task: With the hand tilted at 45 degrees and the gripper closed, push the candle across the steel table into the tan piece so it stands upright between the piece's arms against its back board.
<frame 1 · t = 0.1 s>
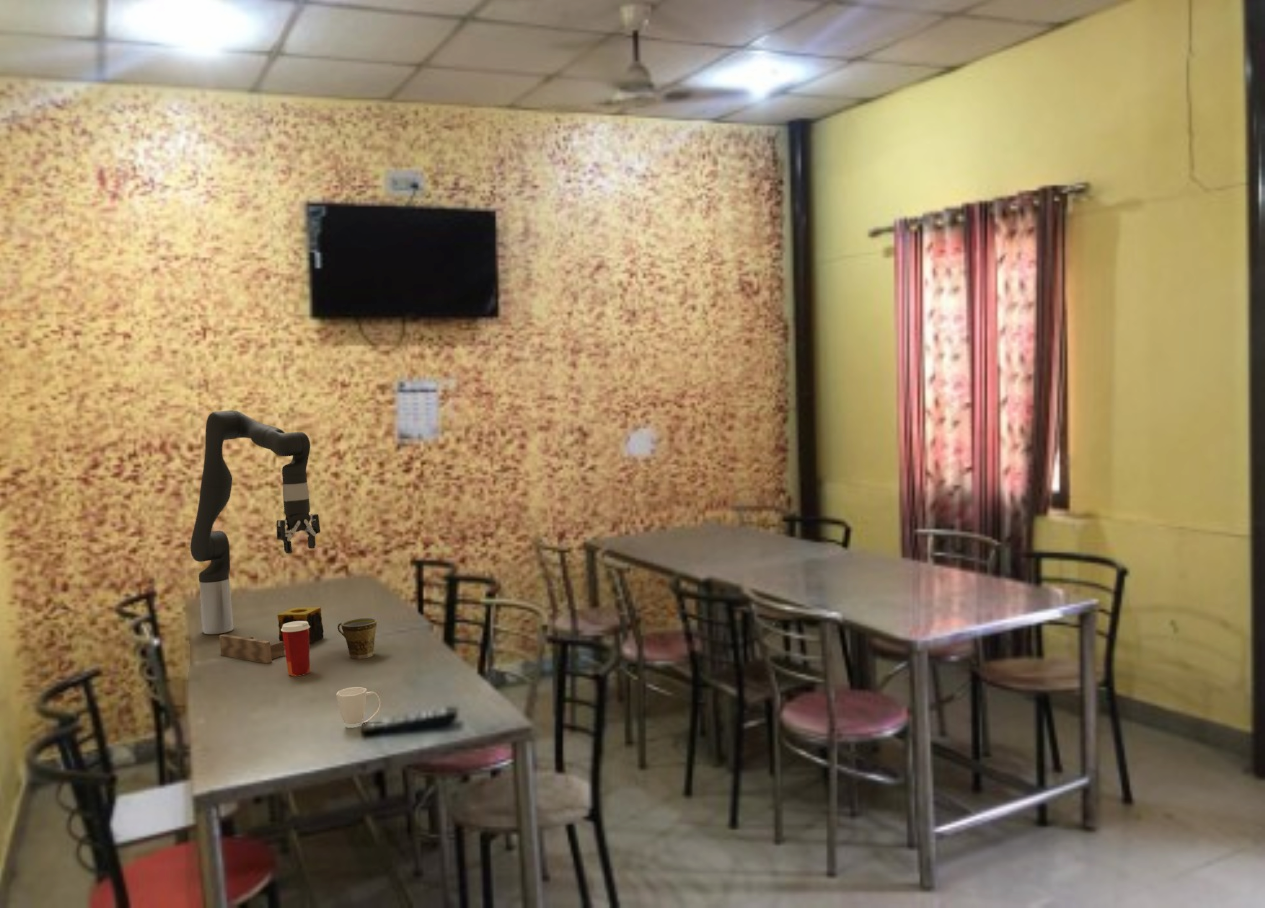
hand: (300, 550, 316), 29 cm above the table, tool pointing down, fingers open, 8 cm apart
candle: (302, 642, 323), on the table
tan piece: (258, 654, 309), on the table
cup: (360, 724, 240), on the table
paper cup: (299, 674, 287), on the table
ceramic cup: (357, 656, 303), on the table
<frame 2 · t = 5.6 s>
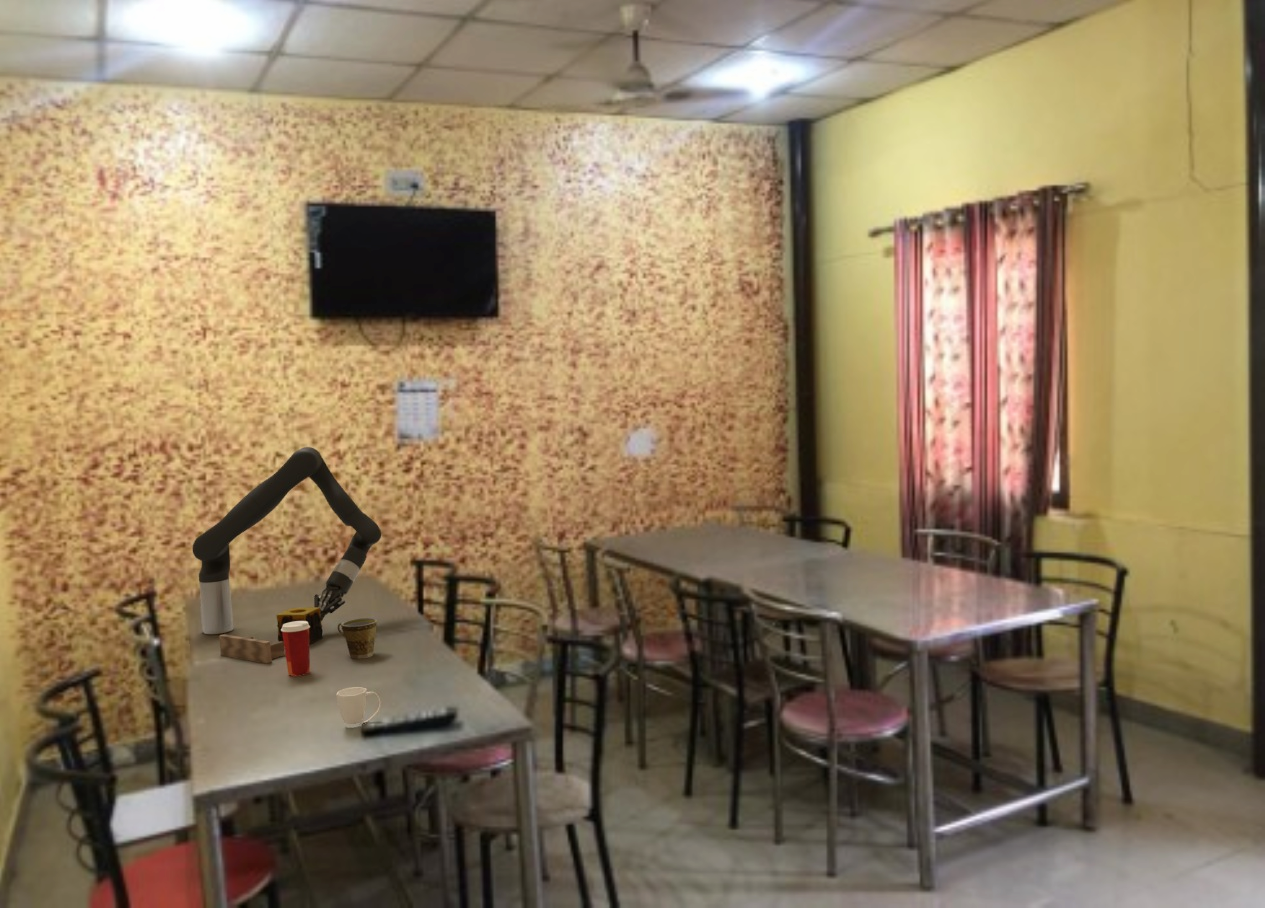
hand: (315, 622, 327), 5 cm above the table, tool tilted 45°, fingers closed
candle: (301, 643, 322), on the table, touching gripper
everything else where it was.
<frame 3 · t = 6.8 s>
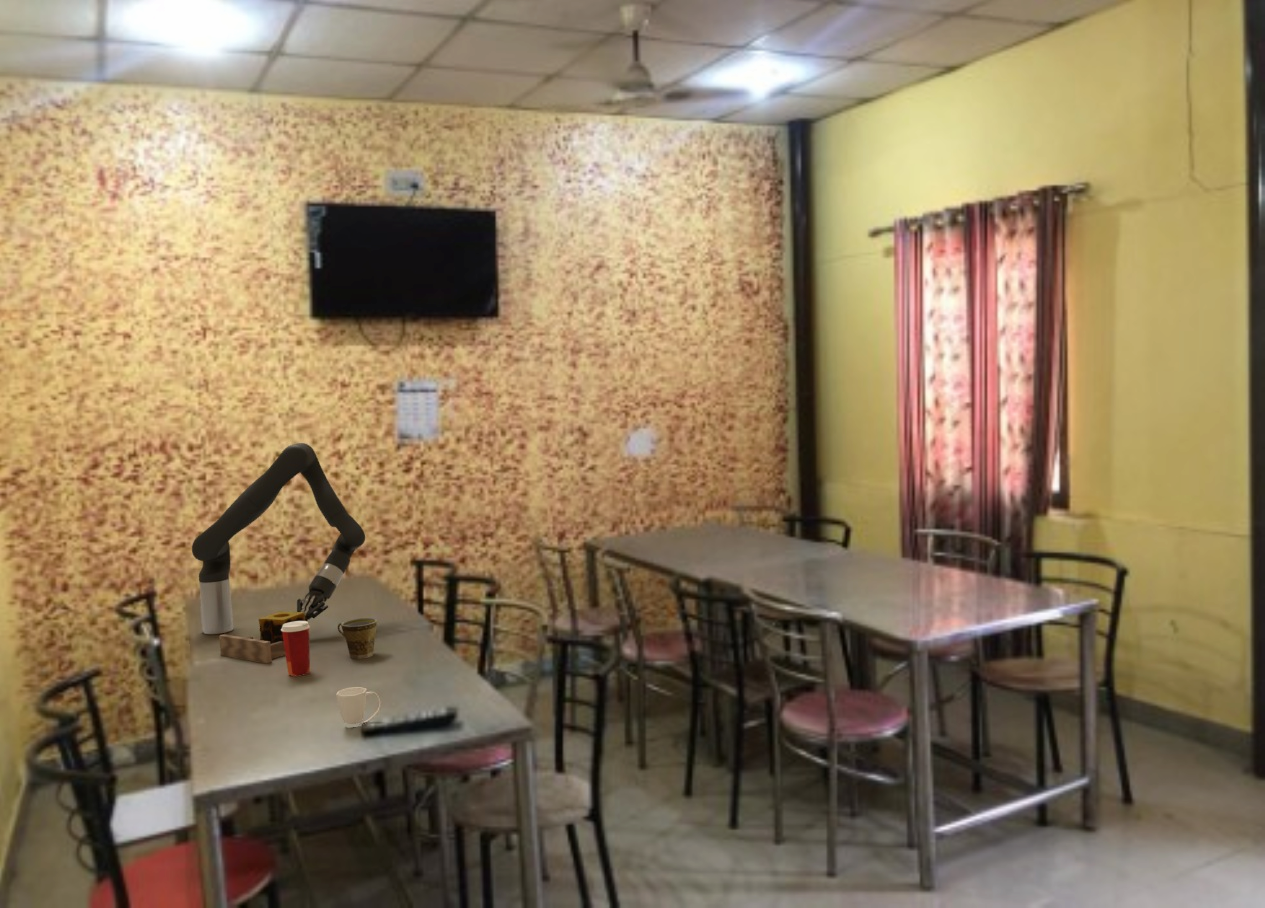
hand: (298, 627, 321), 5 cm above the table, tool tilted 45°, fingers closed
candle: (284, 648, 317), on the table, touching gripper
everything else where it was.
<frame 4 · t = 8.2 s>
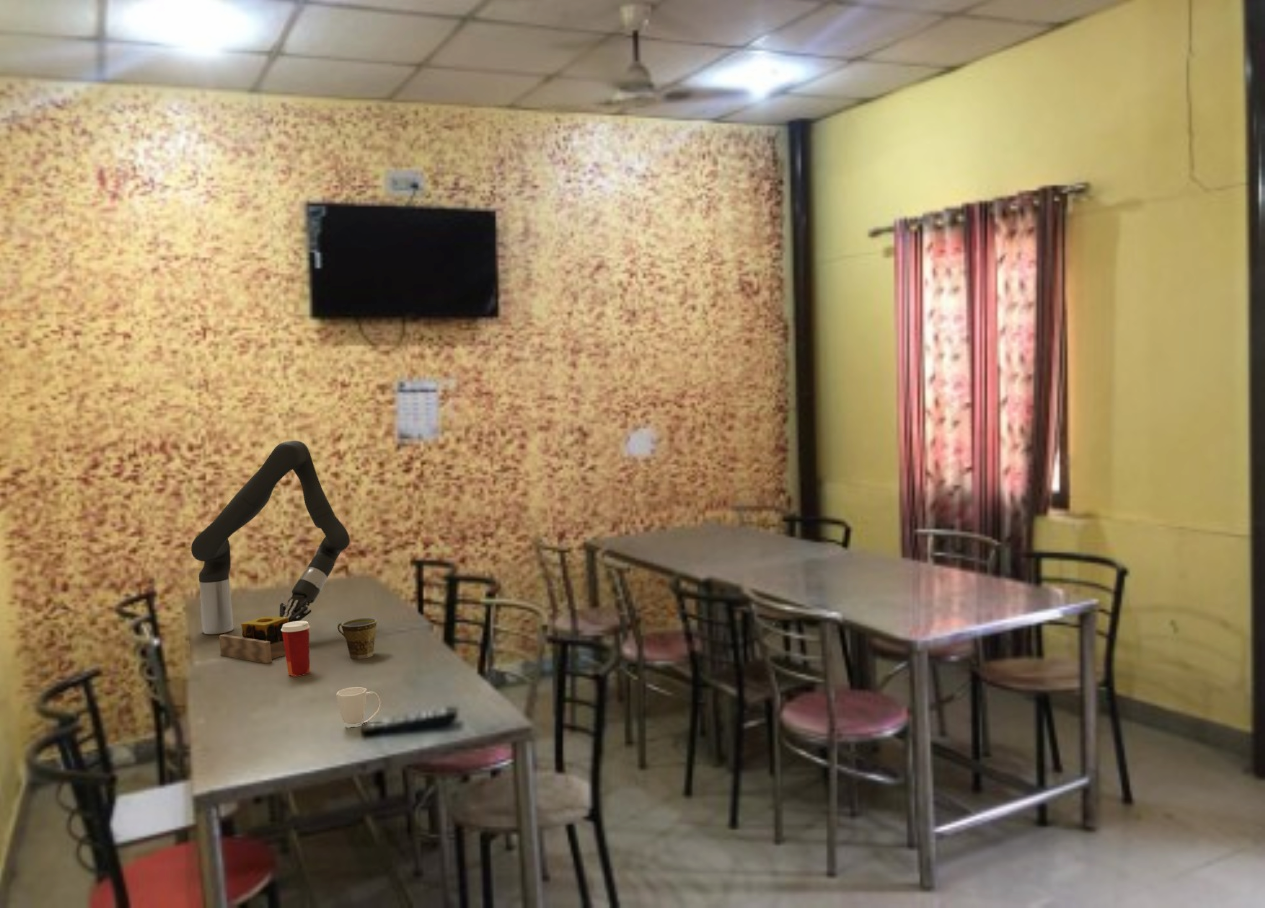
hand: (280, 632, 316), 5 cm above the table, tool tilted 45°, fingers closed
candle: (267, 653, 311), on the table, touching tan piece, gripper
everything else where it was.
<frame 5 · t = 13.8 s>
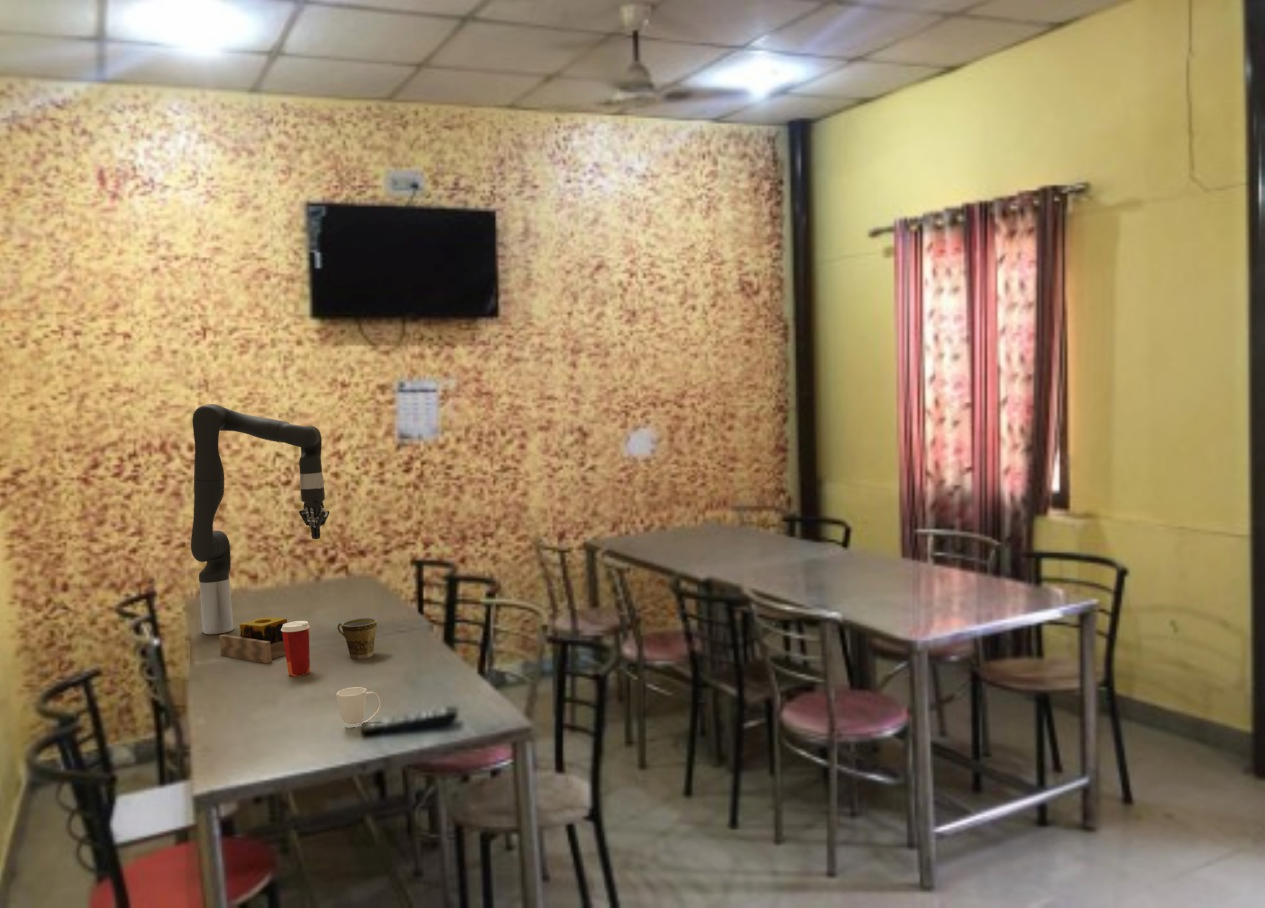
hand: (316, 538, 342), 29 cm above the table, tool pointing down, fingers closed
candle: (265, 654, 311), on the table
everything else where it was.
at the end: candle inside the target area on the tan piece (2.0 cm from its centre), point 0.0 cm above the tan piece's base; candle tilted 0°; candle moved 14.0 cm from its start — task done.
